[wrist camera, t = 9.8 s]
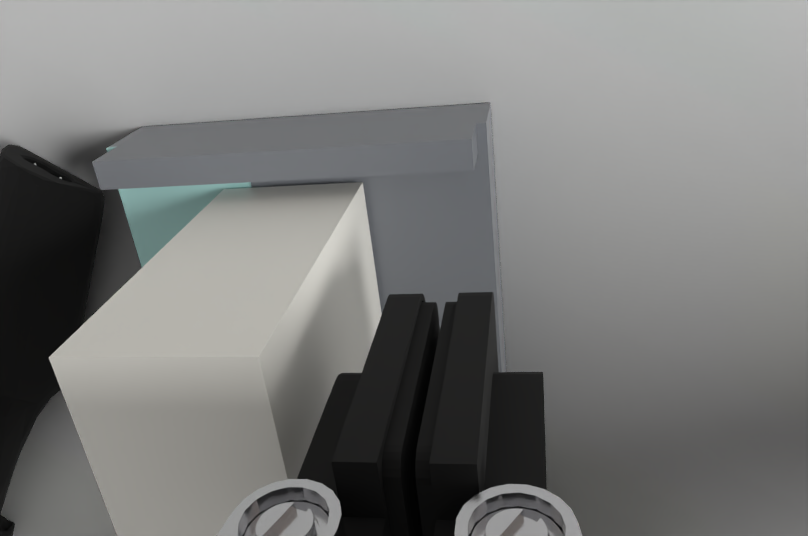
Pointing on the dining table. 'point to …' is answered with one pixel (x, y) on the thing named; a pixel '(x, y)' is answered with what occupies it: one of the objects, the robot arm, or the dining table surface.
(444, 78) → the dining table surface
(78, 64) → the dining table surface
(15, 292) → the electric trimmer
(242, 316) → the white block
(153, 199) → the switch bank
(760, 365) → the dining table surface
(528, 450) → the robot arm
